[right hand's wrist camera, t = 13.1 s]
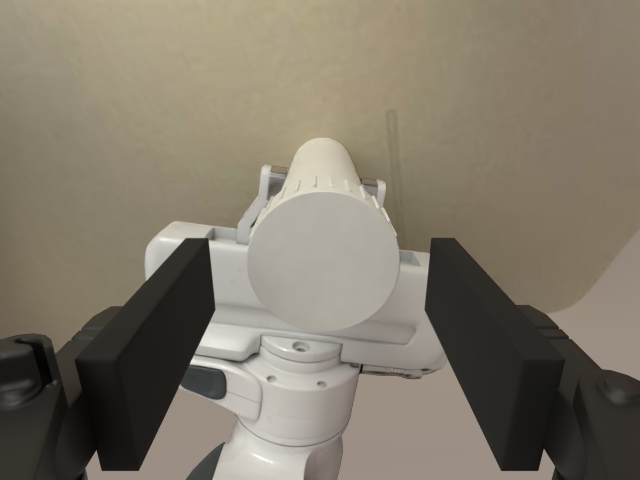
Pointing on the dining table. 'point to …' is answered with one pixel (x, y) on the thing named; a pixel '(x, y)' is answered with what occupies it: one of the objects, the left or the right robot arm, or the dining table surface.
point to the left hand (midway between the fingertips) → (323, 174)
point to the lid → (323, 255)
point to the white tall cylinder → (322, 162)
